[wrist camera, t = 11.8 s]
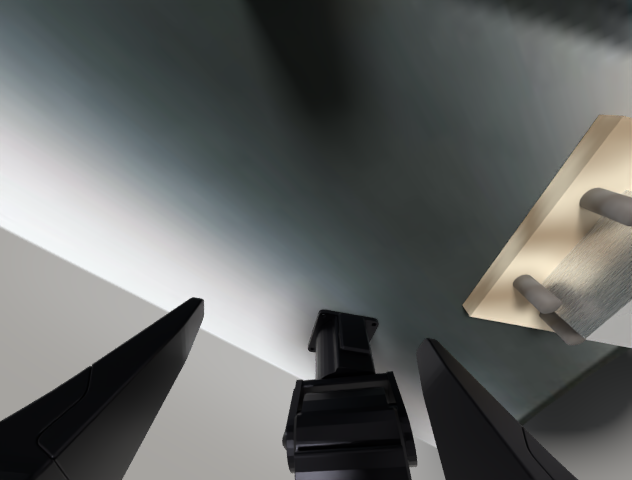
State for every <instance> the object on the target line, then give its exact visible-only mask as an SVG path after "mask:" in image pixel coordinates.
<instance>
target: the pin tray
mask: <svg viewBox="0 0 632 480" xmlns="http://www.w3.org/2000/svg"><path fill="white" fill-rule="evenodd" d="M625 190H629V191H632V118H629V117H626V116H616V115H599V116H598V118H597V119H596V120H595V122H594V123H593V124H592V126H591V127H590V129H589V130H588V131H587V133H586V134H585V136H584V137H583V138H582V140H581V141H580V143H579V144H578V145H577V147H576V148H575V150H574V151H573V152H572V154H571V155H570V156H569V158H568V159H567V161H566V162H565V163H564V165H563V166H562V168H561V169H560V170H559V172H558V173H557V175H556V176H555V177H554V179H553V180H552V181H551V183H550V184H549V186H548V187H547V188H546V190H545V191H544V193H543V194H542V195H541V197H540V198H539V200H538V201H537V202H536V204H535V205H534V207H533V208H532V209H531V211H530V212H529V213H528V215H527V216H526V218H525V219H524V220H523V222H522V223H521V225H520V226H519V227H518V229H517V230H516V232H515V233H514V234H513V236H512V237H511V238H510V240H509V241H508V243H507V244H506V245H505V247H504V248H503V250H502V251H501V252H500V254H499V255H498V257H497V258H496V259H495V261H494V262H493V263H492V265H491V266H490V268H489V269H488V270H487V272H486V273H485V275H484V276H483V277H482V279H481V280H480V282H479V283H478V284H477V286H476V287H475V289H474V290H473V291H472V293H471V294H470V295H469V297H468V298H467V300H466V301H465V302H464V304H463V307H464V308H465V310H466V311H467V313H468V314H469V315H470V317H476V318H481V319H487V320H492V321H498V322H503V323H509V324H514V325H519V326H525V327H530V328H536V329H541V330H547V331H552V332H556V333H557V334H558V335H559V336H560V337H561V338H562V339H563V340H564V341H565V342H566V343H567V344H568V345H578V344H580V343H582V342H584V341H585V340H586V339H584V338H583V337H582V336H581V335H580V334H579V333H578V332H576V331H575V330H574V329H573V328H572V327H571V326H570V325H569V324H568V323H566V322H565V321H564V320H563V319H562V318H561V317H560V316H559V315H558V314H556V313H555V312H554V311H556V310H558V309H559V308H560V307H561V304H562V302H561V300H559V299H558V298H557V297H556V296H555V295H553V294H552V293H551V292H550V291H549V290H547V289H546V288H545V287H544V286H543V285H541V284H542V283H543V282H544V280H545V279H546V278H547V277H548V276H549V275H550V274H551V273H552V271H553V270H554V269H555V268H556V267H557V266H558V265H559V264H560V263H561V261H562V260H563V259H564V258H565V257H566V256H567V255H568V254H569V252H570V251H571V250H572V249H573V248H574V247H575V246H576V245H577V243H578V242H579V241H580V240H581V239H582V238H583V237H584V236H585V235H586V233H587V232H588V231H589V230H590V229H591V228H592V227H593V226H594V224H595V223H596V222H597V221H598V220H599V219H600V218H601V217H602V216H604V217H606V218H609V219H611V220H614V221H616V222H619V223H621V224H623V225H626V226H632V197H629V196H625V195H622V193H623V192H624V191H625Z"/></svg>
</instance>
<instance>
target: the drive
mask: <svg viewBox="0 0 632 480" xmlns="http://www.w3.org/2000/svg"><path fill="white" fill-rule="evenodd" d="M622 195H625V196H629V197H632V191H629V190H625V191H624V192H623V193H622ZM541 285H543V286H544V287H545V288H546V289H547V290H549V291H550V292H551V293H552V294H553V295H555V296H556V297H557V298H558V299H559V300H561V302H562V304H561V307H560V308H559V309H558V310H556V311H554V312H555V313H556V314H558V315H559V316H560V317H561V318H562V319H563V320H564V321H565V322H566V323H568V324H569V325H570V326H571V327H572V328H573V329H574V330H575V331H576V332H578V333H579V334H580V335H581V336H582V337H583V338H584V339H586V340H592V341H597V342H602V343H608V344H613V345H618V346H624V347H629V348H632V226H626V225H623V224H621V223H619V222H616V221H614V220H611V219H609V218H606V217H604V216H602V217H601V218H600V219H599V220H598V221H597V222H596V223H595V224H594V226H593V227H592V228H591V229H590V230H589V231H588V232H587V233H586V235H585V236H584V237H583V238H582V239H581V240H580V241H579V242H578V243H577V245H576V246H575V247H574V248H573V249H572V250H571V251H570V252H569V254H568V255H567V256H566V257H565V258H564V259H563V260H562V261H561V263H560V264H559V265H558V266H557V267H556V268H555V269H554V270H553V271H552V273H551V274H550V275H549V276H548V277H547V278H546V279H545V280H544V282H543V283H542V284H541Z"/></svg>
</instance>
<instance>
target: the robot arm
mask: <svg viewBox="0 0 632 480" xmlns="http://www.w3.org/2000/svg"><path fill="white" fill-rule="evenodd" d="M322 314H325V315H322ZM203 317H204V300H203V299H200V298H195V297H193V298H190V299H189V300H187V301H186V302H184V303H183V304H181V305H180V306H178V307H177V308H175V309H174V310H172V311H171V312H169V313H168V314H166V315H165V316H164V317H162V318H160V319H159V320H157V321H156V322H154V323H153V324H152V325H150V326H149V327H147V328H146V329H144V330H143V331H141V332H140V333H138V334H137V335H135V336H134V337H132V338H131V339H129V340H128V341H126V342H125V343H124V344H122V345H120V346H119V347H117V348H116V349H114V350H113V351H111V352H110V353H108V354H107V355H105V356H104V357H102V358H101V359H99V360H98V361H97V362H95V363H94V364H92V366H89V367H87V368H86V369H84V370H83V371H81V372H80V373H78V374H77V375H75V376H74V377H72V378H71V379H69V380H68V381H66V382H65V383H63V384H61V385H60V386H58V387H57V388H55V389H54V390H52V391H51V392H49V393H47V394H46V395H44V396H42V397H41V398H39V399H37V400H36V401H34V402H32V403H31V404H29V405H28V406H26V407H24V408H22V409H21V410H19V411H17V412H16V413H14V414H12V415H10V416H9V417H7V418H5V419H4V420H2V421H0V480H122V478H123V477H124V475H125V473H126V471H127V469H128V467H129V465H130V464H131V462H132V460H133V458H134V456H135V454H136V452H137V451H138V448H139V447H140V445H141V443H142V441H143V439H144V438H145V436H146V434H147V432H148V430H149V428H150V426H151V425H152V423H153V421H154V419H155V417H156V415H157V413H158V411H159V410H160V408H161V406H162V404H163V402H164V400H165V399H166V397H167V395H168V393H169V391H170V389H171V387H172V385H173V384H174V382H175V380H176V378H177V376H178V374H179V373H180V371H181V369H182V367H183V365H184V363H185V361H186V359H187V357H188V354H189V352H190V350H191V347H192V345H193V342H194V340H195V337H196V335H197V333H198V330H199V328H200V325H201V323H202V320H203ZM377 327H378V320H377V319H375V318H369V317H364V316H358V315H352V314H346V313H341V312H335V311H329V310H320V311H319V313H318V317H317V320H316V323H315V326H314V329H313V332H312V335H311V338H310V341H309V344H308V350H309V351H310V352H316V377H315V380H304V381H303V380H297V381H296V387H295V389H294V391H293V396H292V401H291V405H290V410H289V415H288V420H287V425H286V430H285V432H284V435H283V440H282V442H283V446H284V448H285V449H286V450H287V459H288V465H289V469H290V472H291V473H295V480H412V479H411V474H410V469H409V467H416V466H417V455H416V449H415V444H414V439H413V435H412V430H411V426H410V423H409V419H408V415H407V412H406V409H405V406H404V403H403V400H402V397H401V394H400V392H399V389H398V386H397V383H396V380H395V377H394V374H393V371H390V372H386V373H381V374H376V373H375V368H374V363H373V358H372V353H371V348H370V344H369V342H370V340H371V339H372V337H373V335H374V333H375V331H376V329H377ZM416 356H417V362H418V368H419V374H420V380H421V386H422V391H423V396H424V400H425V404H426V408H427V411H428V415H429V419H430V423H431V426H432V430H433V434H434V438H435V441H436V445H437V449H438V452H439V456H440V460H441V463H442V468H443V471H444V475H445V479H446V480H578V479H577V478H576V477H574V476H573V475H572V474H571V473H570V472H569V471H568V470H567V469H566V468H565V467H564V466H562V464H561V463H559V462H558V461H557V460H556V459H555V458H554V457H553V456H552V455H551V454H550V453H549V452H548V451H547V450H546V449H545V448H544V447H543V446H542V445H541V444H540V443H539V442H538V441H537V440H536V439H535V438H534V437H533V436H532V435H531V434H530V433H529V432H528V431H527V430H526V429H525V428H524V427H522V426H521V424H520V423H519V422H518V421H517V420H516V419H515V418H514V417H513V416H512V415H511V414H510V413H509V412H508V411H507V410H506V409H505V408H504V407H503V406H502V405H501V404H500V403H499V402H498V401H497V400H496V399H495V398H494V397H493V396H492V395H491V394H490V393H489V392H488V391H487V390H486V389H485V388H484V387H483V386H482V385H481V384H480V383H479V382H478V381H477V380H476V379H475V378H474V377H473V376H472V375H471V374H470V373H469V372H468V371H467V370H466V369H465V368H464V367H463V366H462V365H461V364H460V363H459V362H458V361H457V360H456V359H455V358H454V357H453V356H452V355H451V354H450V353H449V352H448V351H447V350H446V349H445V348H444V347H443V346H442V345H441V344H440V343H439V342H438V341H437V340H435V339H430V338H426V339H424V341H423V342H422V344H421V345H420V346H419V348H418V350H417V353H416Z"/></svg>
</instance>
